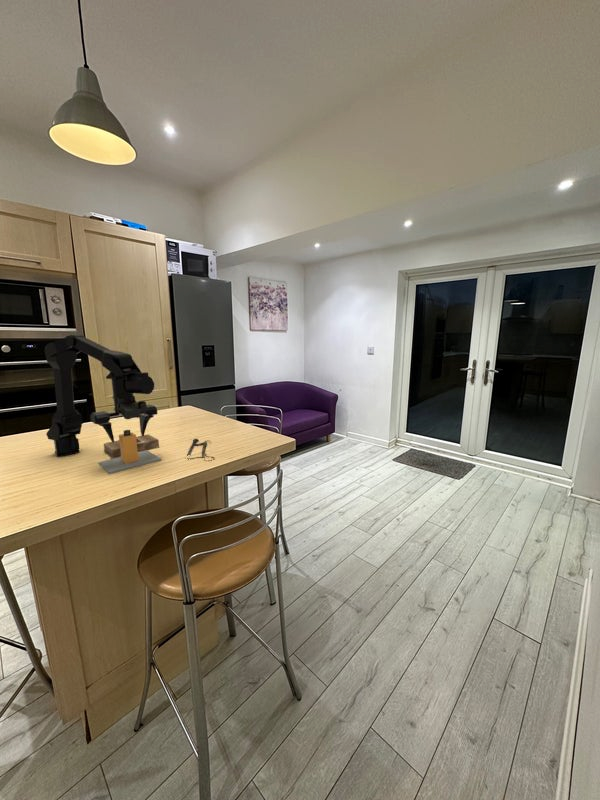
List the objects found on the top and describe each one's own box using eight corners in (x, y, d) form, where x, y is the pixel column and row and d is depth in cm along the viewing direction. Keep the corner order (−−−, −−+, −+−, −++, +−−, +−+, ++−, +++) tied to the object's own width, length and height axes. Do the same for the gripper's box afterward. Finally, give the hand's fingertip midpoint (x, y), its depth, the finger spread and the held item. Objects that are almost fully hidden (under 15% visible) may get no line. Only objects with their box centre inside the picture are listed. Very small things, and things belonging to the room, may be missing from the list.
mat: (109, 474, 99) (109, 472, 99) (98, 463, 107) (98, 462, 107) (161, 460, 110) (161, 458, 110) (147, 451, 118) (147, 450, 118)
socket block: (113, 458, 112) (112, 449, 111) (104, 451, 119) (103, 442, 118) (159, 447, 123) (158, 438, 123) (148, 441, 130) (148, 433, 130)
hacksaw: (193, 441, 131) (193, 438, 131) (219, 440, 133) (219, 436, 133) (182, 463, 108) (182, 459, 107) (214, 461, 110) (214, 457, 109)
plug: (125, 463, 106) (122, 433, 104) (121, 460, 109) (118, 430, 107) (138, 460, 109) (135, 430, 107) (134, 457, 111) (131, 428, 109)
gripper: (97, 399, 92) (103, 451, 95) (162, 392, 105) (166, 437, 108) (87, 395, 100) (93, 443, 103) (149, 388, 113) (153, 431, 116)
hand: (128, 438), depth 107 cm, fingers open, 9 cm apart
